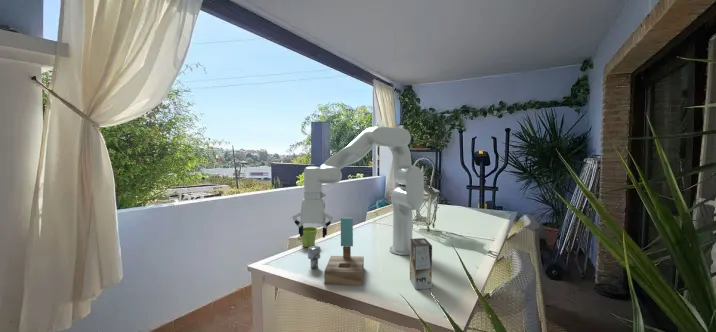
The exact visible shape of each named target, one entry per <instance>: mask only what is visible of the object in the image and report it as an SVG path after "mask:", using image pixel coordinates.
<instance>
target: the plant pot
mask: <svg viewBox="0 0 716 332" xmlns="http://www.w3.org/2000/svg"><path fill="white" fill-rule="evenodd" d="M318 230H319V229H318V228H317V227H313V226H303V236H302V237H300V238H301V243H302V244H301V245H302V247H303V246H304V247H303V248H309V247H311V246H316V245H315V243H316V237H317V236H316V235H317V232H318Z"/></svg>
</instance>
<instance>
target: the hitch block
mask: <svg viewBox="0 0 716 332" xmlns="http://www.w3.org/2000/svg"><path fill="white" fill-rule="evenodd" d="M351 247H352V246H342V255H330V257H329V260H328V262H327V264H326V267H325V269H324V271H323V272H324V273H323V279H324V281H323V282H324V285H335V286H336V285H338V286H339V285H340V286H362V284H363V278H364V269H365V266H364V265H365V262H364V260H365V257H364V256H358V255H357V256H356V255H352V253H351V251H352V250H351Z"/></svg>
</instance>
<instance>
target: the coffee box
mask: <svg viewBox="0 0 716 332" xmlns="http://www.w3.org/2000/svg"><path fill="white" fill-rule="evenodd" d="M432 272H433V245H432V244H431V242H429V241H428V240H427V238H425V237H424V238H423V237H422V238H421V237H419V238H416V237H415V238H412V239H410V255H409V280H410V283H412V286H413V288H414V289H415V290H424V289H425V290H427V289H429V288H430V289H432V287H433V286H432V285H433V284H432V282H433V281H432V277H433V276H432V274H433V273H432ZM430 289H429V290H430Z"/></svg>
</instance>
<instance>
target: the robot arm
mask: <svg viewBox="0 0 716 332" xmlns="http://www.w3.org/2000/svg"><path fill="white" fill-rule="evenodd" d="M411 139H412V137H411V133H410V131H409V130H407V129H405V128H401V127H389V126H377V125H376V126H369V127H366V128H365V129H364V130H363V131H362V132H361V133H360V134H358V135H357V136H356V137H355V138H354V139H353V140H352V141H351V142H349V144H348V145H347V146H345V147H343V148H341V149H340V150H339V151H338V152H336V153H334V154H333V155H331V156H330V157H329V158H328V159H326V161H325V162H323V163H322V164H321V165H320V166H306V167H305V168H304V169H303V182H304V183H303V199H302V200H301V204H300V205H301V206H300V212H299V213H296V214H294V215H293V216H292V218H291V219H292V220H293V222H294V223H295V225H296V226H297V227H298V235H299V237H300V238H301V237H302V236H303V228H304V224H316V225H317V224H318V225H319V224H321V226H322V238H326V236H327V235H328V227H329V226H330V225H331V223H332V222H333V220H334V216H332V215H330V214H329V213H327V212H326V204H325V199H324V198H325V197H327V196H326V193H324V192H323V184H325V185H326V184H327V185H336V184H338V183H340V182H341V180H342V178H343V173H342V169H344V168H345V167H347V166H348V165H351V164H356V163H357V162H359V161H361V160H362V159H363V158H364V157H365V156H366V155H367V154H368V153H369V152H370V151H372V149H374V147H376V146H377V147H378V146H379V147H387V148H388V149H389V150H390V151H391V154H392V159H393V160H392V161H393V162H392V163H393V168H392V169H393V180H394V181H395V183H397V184H399V185H404V186H398V187H396V188H394V189H393V191H392V192H391V195H390V196H391V197H390V198H391V206H392V245H391V246H390V247H389V252H391V253H392V254H394V255H398V256H399V255H400V256H410V239H413V220H414V219H413V211H417V210H420V209H421V208H422V206H423V204H424V198H425V178H424V174H423V171H422V170H421V168H420V167H418V166H416V165H412V157H411V156H412V154H411V151H410V148H409V146H408V145H409V144H410V143H411ZM299 217H300V218H299ZM298 218H299V219H300V220H298ZM326 218H327V219H328V222H326V220H327V219H326Z"/></svg>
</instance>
